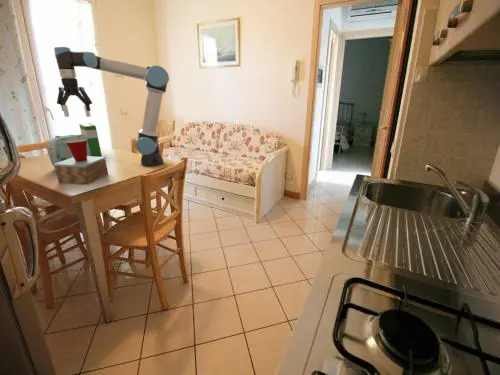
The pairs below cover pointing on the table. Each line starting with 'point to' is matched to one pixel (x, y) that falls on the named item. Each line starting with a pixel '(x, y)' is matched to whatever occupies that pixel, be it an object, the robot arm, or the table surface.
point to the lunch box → (62, 147)
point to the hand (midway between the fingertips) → (77, 116)
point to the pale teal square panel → (72, 162)
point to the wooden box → (82, 173)
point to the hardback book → (91, 138)
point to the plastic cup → (78, 149)
